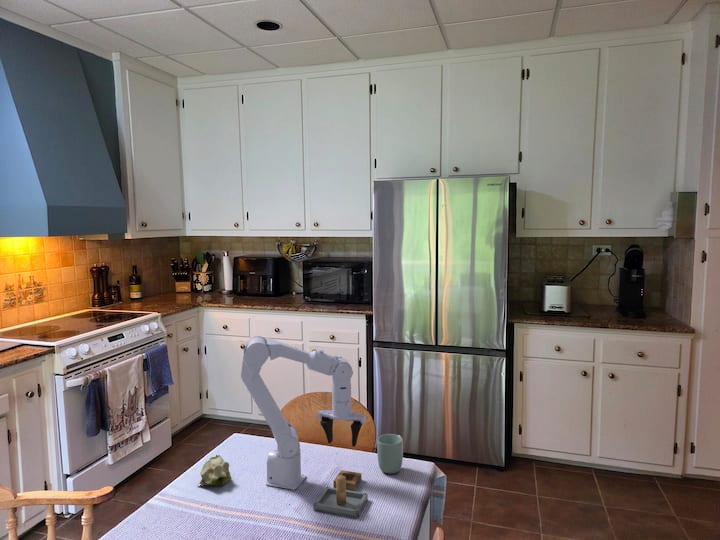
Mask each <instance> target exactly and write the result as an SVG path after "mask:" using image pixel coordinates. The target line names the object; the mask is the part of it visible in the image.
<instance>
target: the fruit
mask: <svg viewBox="0 0 720 540" xmlns="http://www.w3.org/2000/svg"><path fill="white" fill-rule="evenodd" d="M200 477H201V480H200V482H199V484H201V486H199V487H198V488H200V487H202V486H206V485H211V486H214V487H215V486H217V487H218V486H220V487H222V486H223V487H224V486H226V485H227V484H228V483H229V482H230V481H231V479H232V476H231V472H230V463H229V462H227V461H225V460H224V458H223V457H222V456H221V455H220V454H216V455H215V456H212V457H210V458H209V460H207V461H205V462H204V464H203V465H202V469H201V470H200ZM226 483H227V484H226ZM199 484H198V485H199Z"/></svg>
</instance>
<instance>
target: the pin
mask: <svg viewBox="0 0 720 540" xmlns="http://www.w3.org/2000/svg"><path fill="white" fill-rule="evenodd" d="M335 478H336V503H337V505H340V506H342V505H345V504H346V477H345V476H343V475H339V476H337V475H336V476H335Z"/></svg>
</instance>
